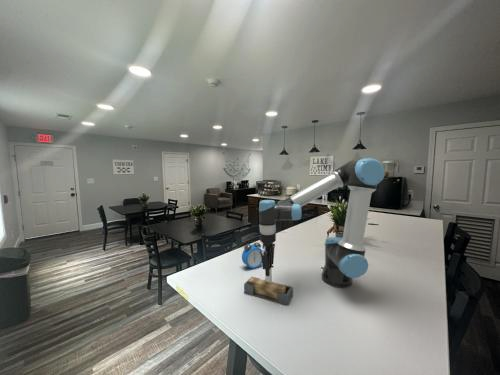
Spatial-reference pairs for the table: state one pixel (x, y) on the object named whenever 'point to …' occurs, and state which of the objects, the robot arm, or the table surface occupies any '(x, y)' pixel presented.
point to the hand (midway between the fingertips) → (268, 281)
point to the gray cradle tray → (280, 299)
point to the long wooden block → (267, 287)
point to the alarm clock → (252, 255)
